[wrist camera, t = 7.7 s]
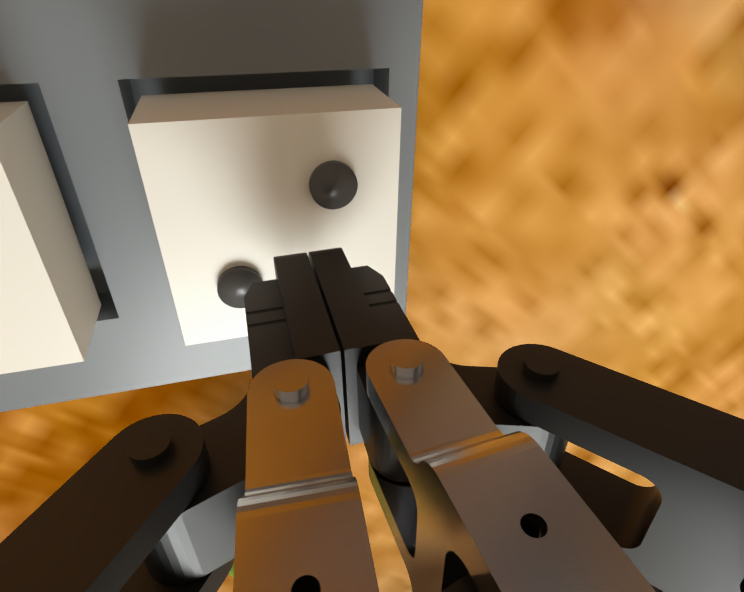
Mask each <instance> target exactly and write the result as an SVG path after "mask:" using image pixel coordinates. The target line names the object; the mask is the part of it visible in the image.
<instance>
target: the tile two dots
mask: <svg viewBox="0 0 744 592" xmlns="http://www.w3.org/2000/svg"><path fill="white" fill-rule="evenodd" d="M128 127H129V131H130V135H131V139H132V142H133V146H134V150H135V154H136V158H137V162H138V165H139V169H140V173H141V177H142V181H143V184H144V188H145V192H146V196H147V200H148V204H149V207H150V211H151V215H152V219H153V223H154V227H155V230H156V234H157V238H158V242H159V246H160V250H161V253H162V257H163V261H164V265H165V269H166V272H167V276H168V280H169V284H170V288H171V292H172V295H173V299H174V303H175V307H176V311H177V315H178V318H179V322H180V326H181V330H182V334H183V337H184V341H185V345H186V346H188V345H194V344H201V343H207V342H214V341H220V340H226V339H233V338H239V337H246V336H248V332H247V322H246V313H245V304H244V296H245V294H246V293H247V291H248V289H249V288H250V286H251V284H252V283H254V282H260V281H267V280H274V279H276V275H275V268H274V260H273V257H276V256H283V255H290V254H297V253H305V252H306V253H307V255H308V252H311V251H318V250H325V249H332V248H339V247H341V248H342V250H343V252H344V254H345V256H346V258H347V260H348V262H349V264H350V266H351V268H353V267H360V266H366V265H368V266H369V267H371V268H372V269H374V270H375V271H377V272H378V273H380V274H381V275H383V276H384V278H385V280H386V282H387V284H388V285H389V287H390V289H391V292H393V294H394V288H395V262H396V237H397V211H398V185H399V159H400V133H401V107H400V106H399V105H398V104H396V103H395V102H394V101H393V100H391V99H390V98H389V97H388V96H386V95H385V94H384V93H383V92H381V91H380V90H379V89H378V88H376V87H375V86H374V85H373V84H362V85H342V86H322V87H301V88H281V89H261V90H241V91H220V92H200V93H180V94H160V95H142V96H141V98H140V100H139V102H138V104H137V106H136V108H135V110H134V112H133V114H132V116H131V119H130V121H129V123H128Z"/></svg>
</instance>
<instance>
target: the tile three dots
mask: <svg viewBox="0 0 744 592" xmlns="http://www.w3.org/2000/svg"><path fill="white" fill-rule="evenodd" d="M100 308H101V302H100V300H99V297H98V294H97V291H96V289H95V286H94V283H93V280H92V278H91V275H90V272H89V269H88V267H87V264H86V261H85V258H84V256H83V253H82V250H81V247H80V244H79V242H78V239H77V236H76V233H75V231H74V228H73V225H72V222H71V220H70V217H69V214H68V211H67V209H66V206H65V203H64V200H63V198H62V195H61V192H60V189H59V187H58V184H57V181H56V178H55V175H54V173H53V170H52V167H51V164H50V162H49V159H48V156H47V153H46V151H45V148H44V145H43V142H42V140H41V137H40V134H39V131H38V129H37V126H36V123H35V120H34V118H33V115H32V112H31V109H30V106H29V104H28V101H18V102H0V374H6V373H12V372H19V371H25V370H32V369H38V368H45V367H51V366H58V365H64V364H71V363H77V362H84V360H85V357H86V354H87V350H88V347H89V344H90V341H91V337H92V334H93V331H94V328H95V324H96V321H97V318H98V314H99V311H100Z"/></svg>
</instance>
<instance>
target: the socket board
mask: <svg viewBox="0 0 744 592" xmlns="http://www.w3.org/2000/svg"><path fill="white" fill-rule="evenodd" d="M422 9H423V0H0V102H18V101H28V104H29V106H30V109H31V112H32V115H33V118H34V120H35V123H36V126H37V129H38V131H39V134H40V137H41V140H42V142H43V145H44V148H45V151H46V153H47V156H48V159H49V162H50V164H51V167H52V170H53V173H54V175H55V178H56V181H57V184H58V187H59V189H60V192H61V195H62V198H63V200H64V203H65V206H66V209H67V211H68V214H69V217H70V220H71V222H72V225H73V228H74V231H75V233H76V236H77V239H78V242H79V244H80V247H81V250H82V253H83V256H84V258H85V261H86V264H87V267H88V269H89V272H90V275H91V278H92V280H93V283H94V286H95V289H96V291H97V294H98V297H99V300H100V302H101V308H100V311H99V314H98V318H97V321H96V324H95V328H94V331H93V334H92V337H91V341H90V344H89V347H88V350H87V354H86V357H85V360H84V362H77V363H71V364H64V365H58V366H51V367H45V368H38V369H32V370H25V371H19V372H12V373H6V374H0V412H4V411H10V410H16V409H22V408H27V407H33V406H39V405H45V404H51V403H57V402H63V401H69V400H75V399H81V398H87V397H93V396H99V395H105V394H110V393H116V392H122V391H128V390H134V389H140V388H146V387H152V386H158V385H164V384H170V383H176V382H182V381H188V380H193V379H199V378H205V377H211V376H217V375H223V374H229V373H235V372H241V371H247V370H252V369H251V360H250V350H249V341H248V336H246V337H239V338H233V339H226V340H220V341H214V342H207V343H201V344H194V345H188V346H186V345H185V341H184V337H183V334H182V330H181V326H180V322H179V318H178V315H177V311H176V307H175V303H174V299H173V295H172V292H171V288H170V284H169V280H168V276H167V272H166V269H165V265H164V261H163V257H162V253H161V250H160V246H159V242H158V238H157V234H156V230H155V227H154V223H153V219H152V215H151V211H150V207H149V204H148V200H147V196H146V192H145V188H144V184H143V181H142V177H141V173H140V169H139V165H138V162H137V158H136V154H135V150H134V146H133V142H132V139H131V135H130V131H129V127H128V123H129V121H130V119H131V116H132V114H133V112H134V110H135V108H136V106H137V104H138V102H139V100H140V98H141V96H142V95H160V94H180V93H200V92H220V91H241V90H261V89H281V88H301V87H322V86H342V85H362V84H373V85H374V86H375V87H376V88H378V89H379V90H380V91H381V92H383V93H384V94H385V95H386V96H388V97H389V98H390V99H391V100H393V101H394V102H395V103H396V104H398V105H399V106H400V107H401V133H400V159H399V185H398V211H397V237H396V262H395V288H394V296H395V298H396V299H397V303H399V305H400V307H401V308H402V310H403V312H404V314H405V315H406V297H407V279H408V261H409V243H410V225H411V207H412V189H413V171H414V153H415V135H416V117H417V99H418V81H419V63H420V45H421V27H422Z"/></svg>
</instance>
